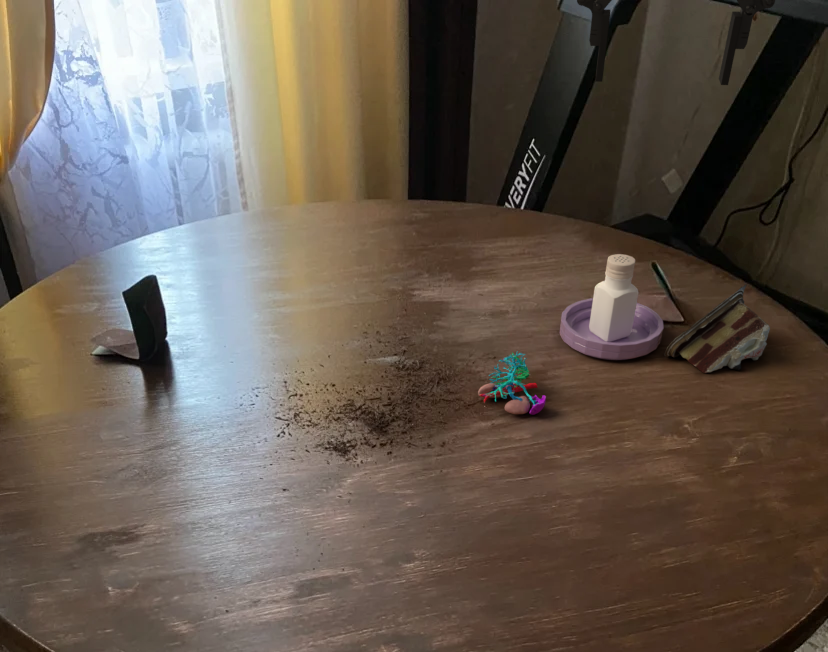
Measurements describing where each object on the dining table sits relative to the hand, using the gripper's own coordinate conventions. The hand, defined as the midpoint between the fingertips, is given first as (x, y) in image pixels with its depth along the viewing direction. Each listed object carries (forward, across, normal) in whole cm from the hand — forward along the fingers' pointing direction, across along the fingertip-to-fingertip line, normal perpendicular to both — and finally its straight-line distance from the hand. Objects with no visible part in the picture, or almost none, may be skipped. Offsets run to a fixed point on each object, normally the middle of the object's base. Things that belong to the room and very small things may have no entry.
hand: (660, 80), depth 94 cm
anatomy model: (+26, +13, +28) cm, 41 cm away
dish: (+26, +2, +11) cm, 29 cm away
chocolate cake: (+27, -11, +14) cm, 32 cm away
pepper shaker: (+26, +2, +11) cm, 28 cm away
